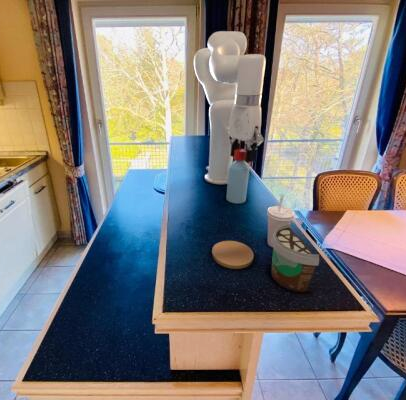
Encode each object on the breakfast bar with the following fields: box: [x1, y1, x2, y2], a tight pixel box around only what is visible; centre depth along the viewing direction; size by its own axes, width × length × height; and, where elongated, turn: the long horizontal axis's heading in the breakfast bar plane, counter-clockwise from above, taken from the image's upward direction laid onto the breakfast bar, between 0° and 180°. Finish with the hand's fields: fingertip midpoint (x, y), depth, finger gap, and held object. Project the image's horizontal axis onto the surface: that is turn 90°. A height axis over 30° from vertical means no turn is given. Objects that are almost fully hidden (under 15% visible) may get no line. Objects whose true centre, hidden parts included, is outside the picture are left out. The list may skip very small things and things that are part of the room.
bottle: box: [225, 160, 250, 204], centre depth 91 cm, size 7×7×17 cm
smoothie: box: [266, 194, 295, 248], centre depth 66 cm, size 6×6×14 cm
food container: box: [270, 224, 320, 293], centre depth 56 cm, size 12×6×10 cm, turn 4°
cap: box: [233, 148, 247, 161], centre depth 87 cm, size 4×4×3 cm
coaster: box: [211, 240, 255, 270], centre depth 65 cm, size 10×10×1 cm
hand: (241, 158), depth 87 cm, fingers open, 6 cm apart
